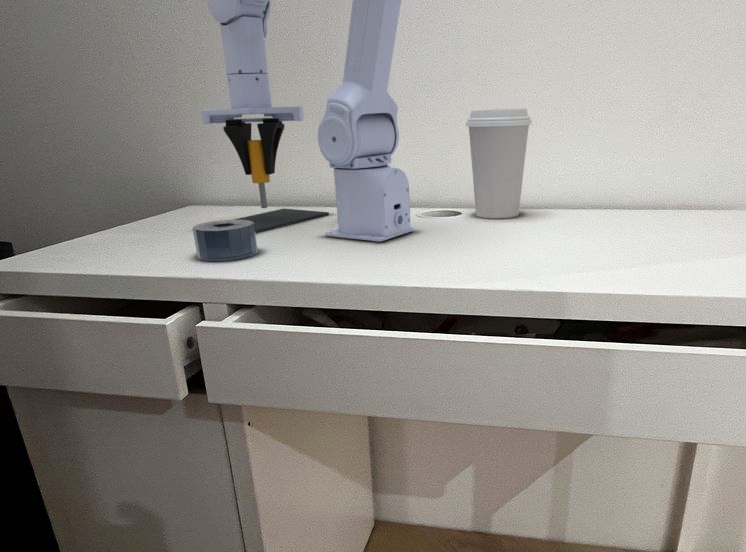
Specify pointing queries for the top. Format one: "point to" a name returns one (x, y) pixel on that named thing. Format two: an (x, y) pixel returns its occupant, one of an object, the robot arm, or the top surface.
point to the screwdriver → (258, 168)
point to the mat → (281, 218)
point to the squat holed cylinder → (225, 240)
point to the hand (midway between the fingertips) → (260, 174)
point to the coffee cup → (498, 159)
